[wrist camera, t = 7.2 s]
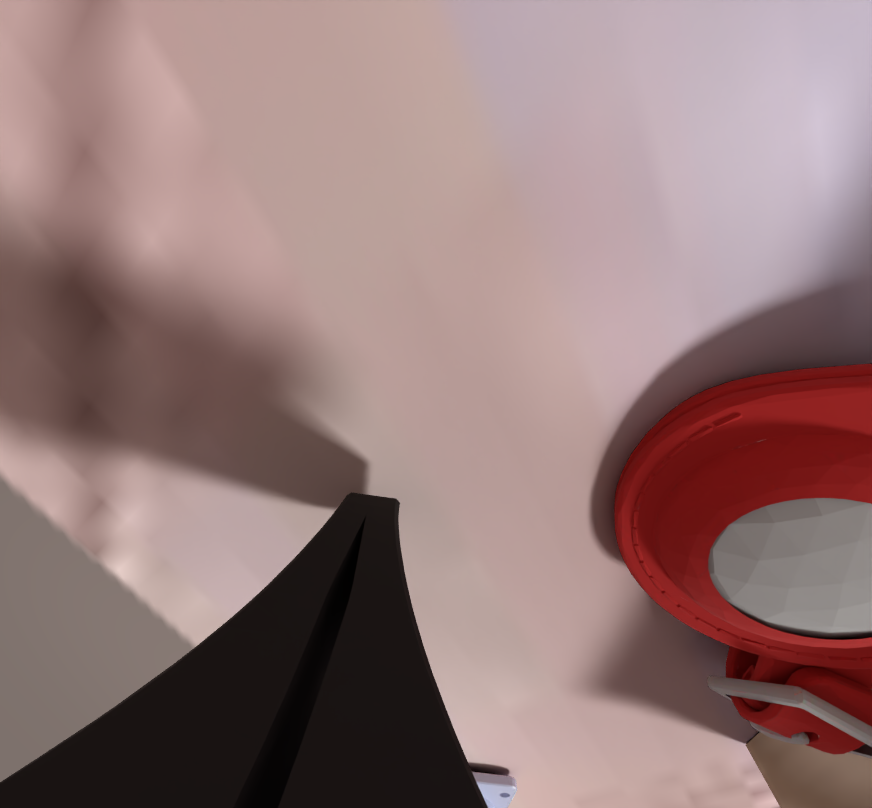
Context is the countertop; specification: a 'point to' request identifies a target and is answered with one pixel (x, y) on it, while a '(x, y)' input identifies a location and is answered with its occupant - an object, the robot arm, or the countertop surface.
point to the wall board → (812, 775)
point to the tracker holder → (767, 544)
